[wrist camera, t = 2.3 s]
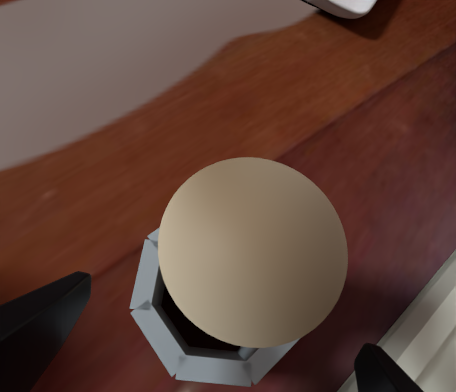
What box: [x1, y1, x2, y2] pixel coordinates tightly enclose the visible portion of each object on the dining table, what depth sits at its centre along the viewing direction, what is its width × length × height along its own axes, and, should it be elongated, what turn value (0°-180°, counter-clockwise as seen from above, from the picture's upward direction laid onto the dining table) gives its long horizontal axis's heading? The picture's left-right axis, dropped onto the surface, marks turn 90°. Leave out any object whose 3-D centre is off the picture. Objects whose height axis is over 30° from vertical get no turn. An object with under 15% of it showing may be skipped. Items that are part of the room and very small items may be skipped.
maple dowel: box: [158, 157, 348, 348], centre depth 12 cm, size 4×4×13 cm
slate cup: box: [130, 228, 300, 387], centre depth 16 cm, size 9×9×4 cm
